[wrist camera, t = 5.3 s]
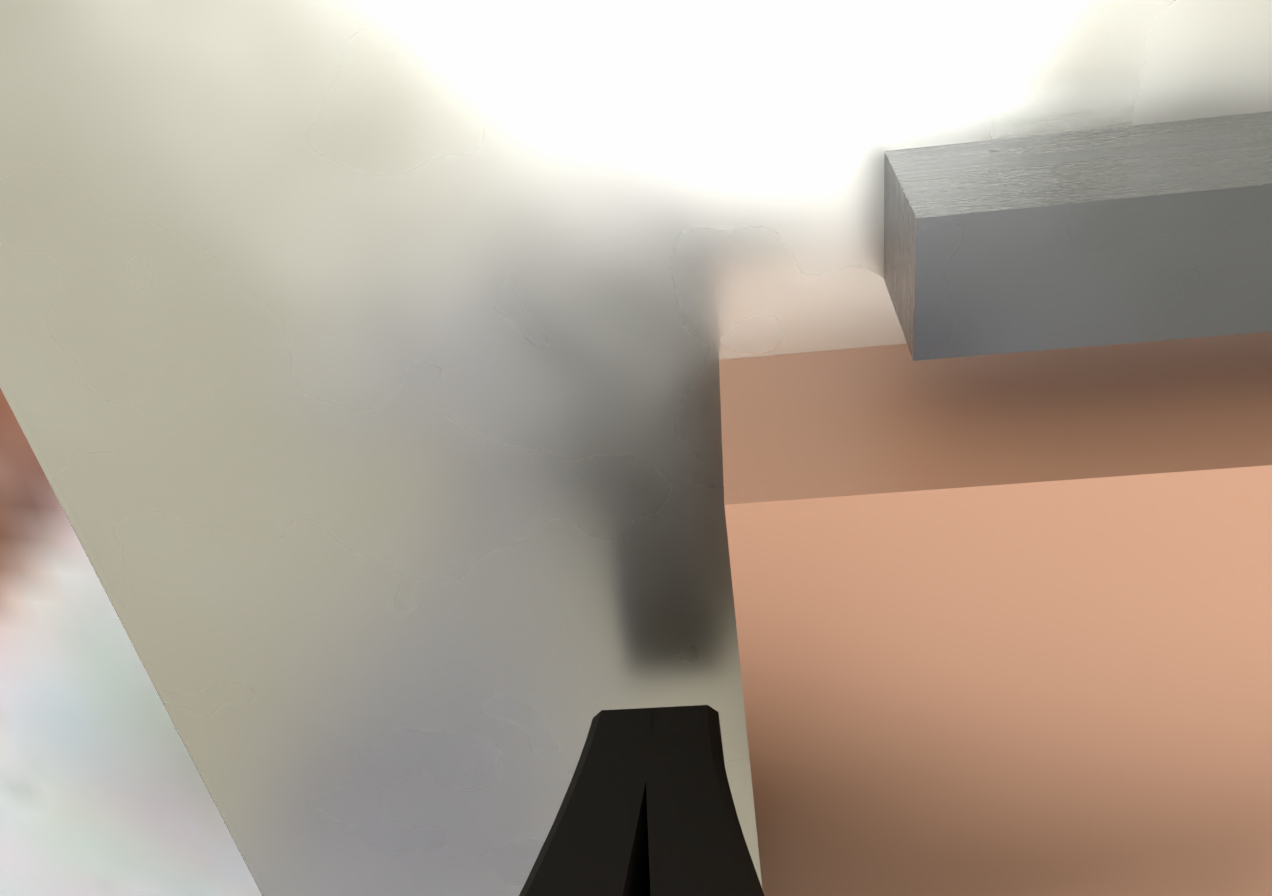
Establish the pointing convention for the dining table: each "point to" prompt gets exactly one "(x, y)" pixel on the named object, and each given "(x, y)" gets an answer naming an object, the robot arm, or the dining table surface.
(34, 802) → the dining table surface
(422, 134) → the dock
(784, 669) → the peach rectangular panel
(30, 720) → the dining table surface
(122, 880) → the dining table surface
